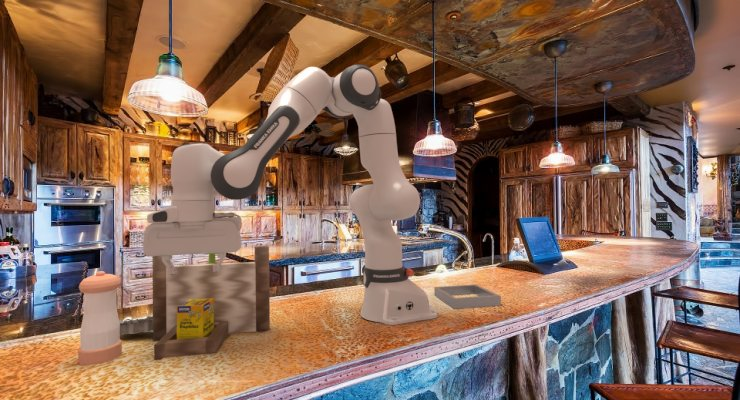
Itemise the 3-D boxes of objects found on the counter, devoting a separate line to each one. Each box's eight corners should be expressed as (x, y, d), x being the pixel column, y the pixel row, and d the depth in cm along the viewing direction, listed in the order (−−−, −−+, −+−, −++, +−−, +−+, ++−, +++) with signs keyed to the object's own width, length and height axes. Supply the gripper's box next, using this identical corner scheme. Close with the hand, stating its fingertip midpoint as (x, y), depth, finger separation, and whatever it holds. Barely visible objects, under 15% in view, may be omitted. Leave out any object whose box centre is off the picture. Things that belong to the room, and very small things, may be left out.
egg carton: (168, 326, 89) (168, 310, 90) (151, 332, 82) (151, 314, 83) (127, 330, 89) (127, 314, 89) (106, 337, 81) (106, 319, 82)
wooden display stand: (270, 328, 90) (269, 245, 90) (263, 354, 74) (262, 254, 75) (156, 337, 85) (156, 249, 85) (123, 367, 69) (122, 259, 70)
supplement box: (203, 354, 74) (203, 305, 75) (175, 355, 74) (175, 305, 74) (214, 343, 80) (214, 297, 81) (189, 344, 80) (189, 298, 80)
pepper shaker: (72, 372, 67) (71, 276, 67) (85, 357, 74) (85, 270, 74) (116, 365, 70) (116, 272, 70) (125, 351, 77) (125, 267, 77)
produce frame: (476, 292, 123) (475, 284, 123) (500, 305, 107) (500, 295, 107) (434, 295, 120) (434, 287, 120) (453, 309, 104) (453, 299, 104)
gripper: (243, 211, 83) (245, 268, 83) (151, 214, 79) (153, 273, 79) (238, 212, 77) (240, 273, 77) (138, 215, 73) (140, 279, 73)
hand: (195, 273), depth 78 cm, fingers open, 8 cm apart
